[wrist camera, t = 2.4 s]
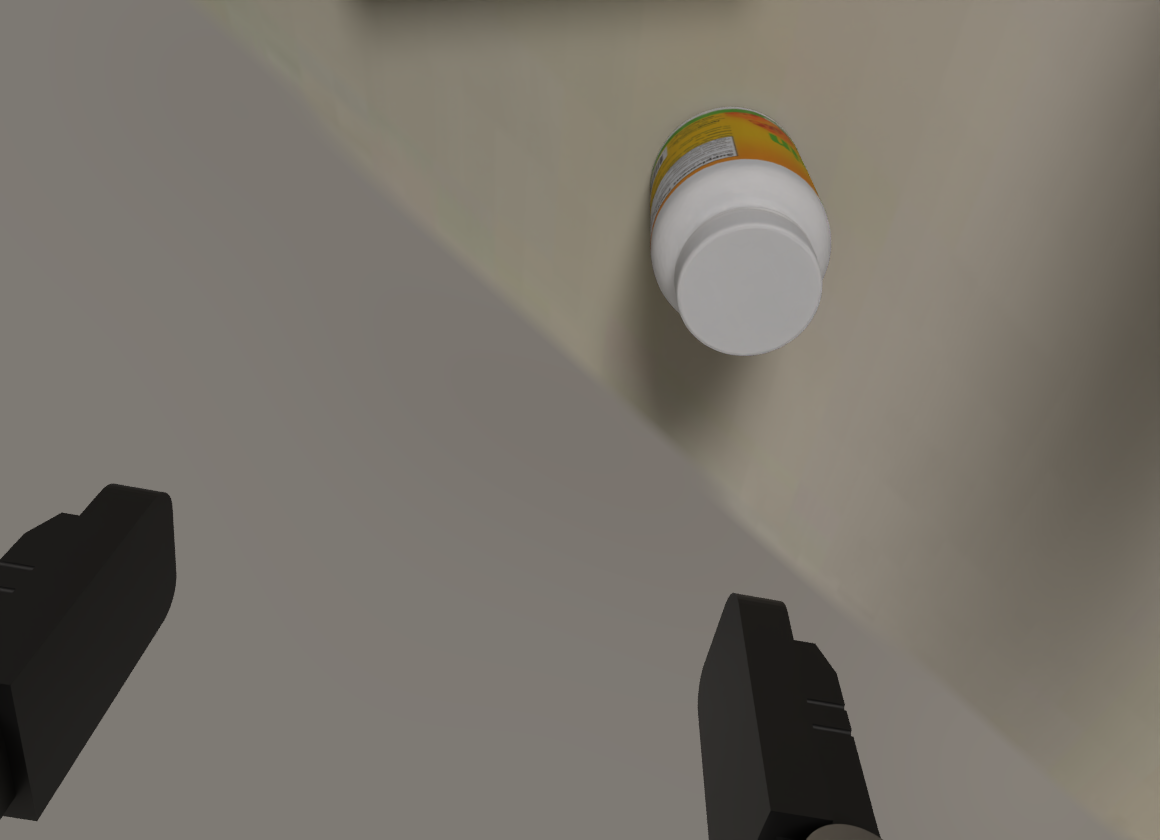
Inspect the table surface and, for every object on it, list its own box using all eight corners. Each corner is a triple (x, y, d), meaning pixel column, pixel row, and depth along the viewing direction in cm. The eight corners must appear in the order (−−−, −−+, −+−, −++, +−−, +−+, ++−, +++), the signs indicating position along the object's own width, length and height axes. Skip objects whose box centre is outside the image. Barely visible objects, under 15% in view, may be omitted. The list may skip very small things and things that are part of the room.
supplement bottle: (825, 204, 33) (882, 325, 25) (694, 274, 35) (708, 408, 27) (758, 72, 31) (798, 158, 23) (622, 154, 33) (614, 261, 24)
